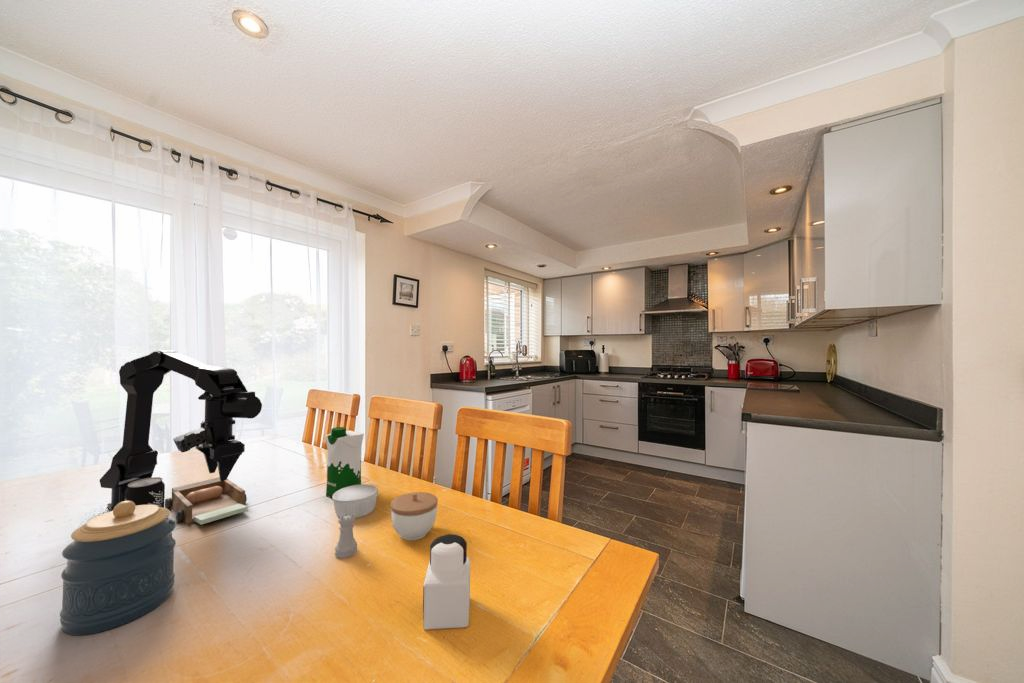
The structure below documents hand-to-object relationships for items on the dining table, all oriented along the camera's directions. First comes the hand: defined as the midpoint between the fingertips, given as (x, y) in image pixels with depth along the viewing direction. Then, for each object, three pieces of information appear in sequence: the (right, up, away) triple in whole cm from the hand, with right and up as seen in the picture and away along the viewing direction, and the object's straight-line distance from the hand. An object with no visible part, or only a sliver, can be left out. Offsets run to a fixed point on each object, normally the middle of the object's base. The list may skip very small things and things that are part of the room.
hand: (217, 476), depth 93 cm
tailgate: (0, -9, -1) cm, 9 cm away
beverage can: (-9, -10, -9) cm, 17 cm away
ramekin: (+35, -11, +3) cm, 37 cm away
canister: (+11, -10, -33) cm, 36 cm away
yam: (-8, -9, +6) cm, 14 cm away
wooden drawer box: (-7, -10, +5) cm, 13 cm away
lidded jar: (+54, -11, -9) cm, 56 cm away
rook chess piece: (+42, -10, -17) cm, 46 cm away
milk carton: (+27, -11, +14) cm, 32 cm away
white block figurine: (+66, -10, -34) cm, 75 cm away
